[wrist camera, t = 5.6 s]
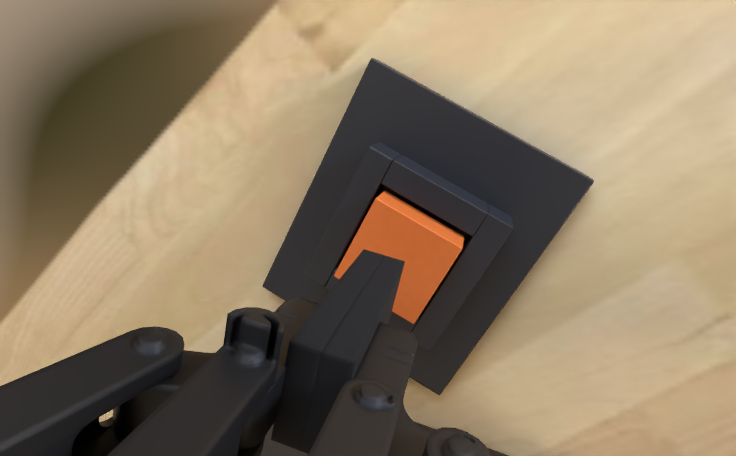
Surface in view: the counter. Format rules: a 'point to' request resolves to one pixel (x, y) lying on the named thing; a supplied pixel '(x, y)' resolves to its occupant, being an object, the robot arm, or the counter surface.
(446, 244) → the key
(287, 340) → the robot arm
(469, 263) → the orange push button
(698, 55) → the counter surface
